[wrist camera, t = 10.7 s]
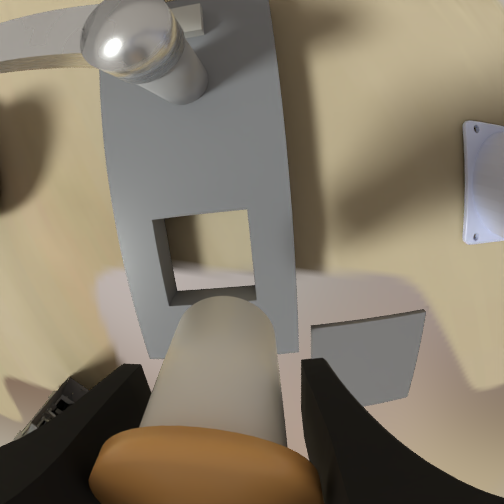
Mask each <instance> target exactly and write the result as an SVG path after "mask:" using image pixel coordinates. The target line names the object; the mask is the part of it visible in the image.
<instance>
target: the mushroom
mask: <svg viewBox="0 0 504 504" xmlns="http://www.w3.org/2000/svg"><path fill="white" fill-rule="evenodd" d="M89 486H90V489H91V491H92V493H93V494H94V496H95V497H96V498H97V500H98V501H99V502H100V503H101V504H324V500H323V494H322V488H321V482H320V477H319V474H318V471H317V470H316V468H315V467H314V465H313V464H312V463H311V462H310V461H309V460H307V459H306V458H305V457H303V456H302V455H300V454H299V453H297V452H295V451H293V450H291V449H289V448H287V438H286V430H285V419H284V410H283V401H282V392H281V383H280V374H279V366H278V358H277V348H276V339H275V332H274V328H273V325H272V323H271V321H270V320H269V318H268V317H267V315H266V314H265V313H264V312H263V311H262V310H261V309H260V308H258V307H257V306H255V305H254V304H252V303H250V302H248V301H246V300H243V299H240V298H237V297H231V296H215V297H210V298H206V299H203V300H201V301H198V302H197V303H195V304H193V305H192V306H191V307H189V308H188V309H187V310H186V311H185V313H184V314H183V316H182V317H181V319H180V321H179V324H178V326H177V329H176V331H175V334H174V336H173V339H172V341H171V344H170V346H169V349H168V351H167V354H166V357H165V359H164V362H163V364H162V367H161V370H160V372H159V375H158V377H157V380H156V383H155V385H154V388H153V391H152V393H151V396H150V399H149V401H148V404H147V407H146V410H145V412H144V415H143V418H142V421H141V423H140V426H139V428H134V429H130V430H126V431H123V432H120V433H118V434H116V435H114V436H112V437H111V438H109V439H108V440H107V441H106V442H105V443H104V444H103V446H102V448H101V450H100V452H99V455H98V457H97V460H96V462H95V464H94V467H93V469H92V472H91V474H90V477H89Z"/></svg>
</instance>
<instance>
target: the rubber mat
mask: <svg viewBox="0 0 504 504" xmlns="http://www.w3.org/2000/svg"><path fill="white" fill-rule="evenodd" d="M425 315H426V311H425V310H424V309H422V310H417V311H412V312H406V313H399V314H393V315H387V316H380V317H374V318H367V319H360V320H353V321H345V322H338V323H329V324H321V325H312V326H311V359H314V358H324V359H325V360H326V361H327V362H328V364H329V365H330V367H331V368H332V370H333V371H334V372H335V374H336V375H337V376H338V378H339V379H340V380H341V382H342V383H343V384H344V385H345V387H346V388H347V389H348V390H349V391H350V393H351V394H352V395H353V396H354V397H355V398H356V399H357V401H358V402H359V403H360V404H361V405H362V406H363V407H364V406H369V405H374V404H379V403H384V402H388V401H393V400H397V399H401V398H405V397H407V396H408V392H409V388H410V385H411V381H412V377H413V373H414V369H415V365H416V361H417V356H418V352H419V347H420V342H421V337H422V332H423V327H424V321H425Z"/></svg>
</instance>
